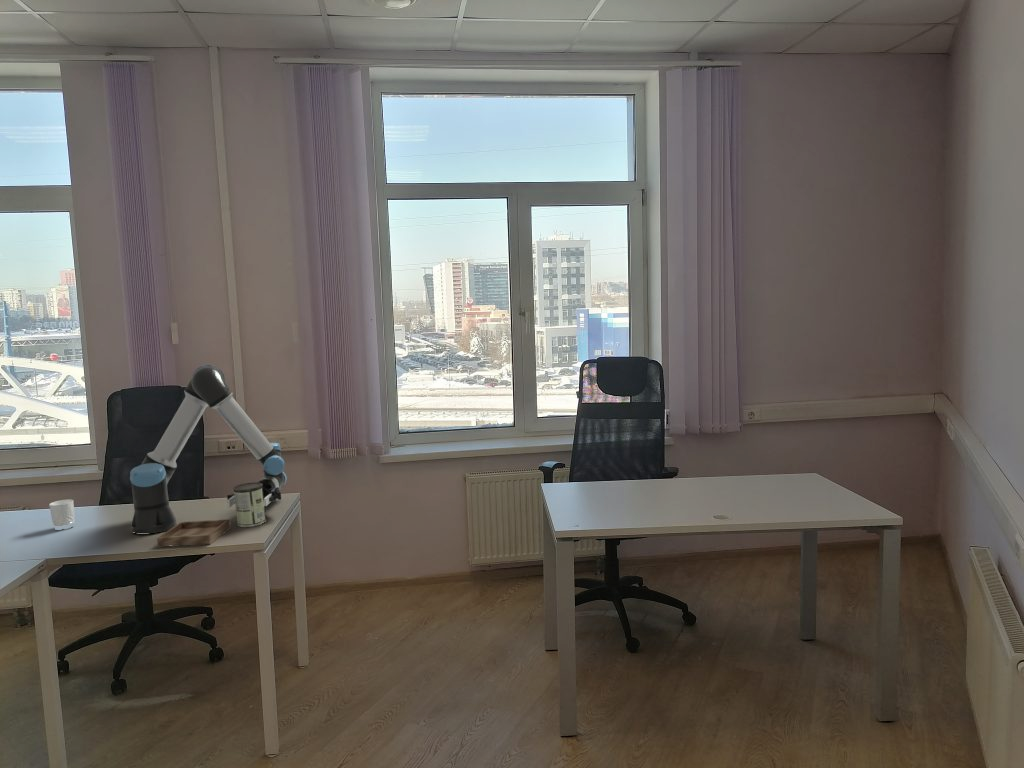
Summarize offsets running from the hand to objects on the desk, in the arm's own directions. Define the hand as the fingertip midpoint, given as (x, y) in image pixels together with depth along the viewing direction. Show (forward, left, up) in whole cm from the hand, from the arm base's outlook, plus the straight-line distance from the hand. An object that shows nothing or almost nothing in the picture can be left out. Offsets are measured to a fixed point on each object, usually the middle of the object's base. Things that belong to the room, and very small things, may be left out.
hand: (246, 503), depth 276 cm
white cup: (-74, +9, -9) cm, 75 cm away
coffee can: (0, +3, -9) cm, 9 cm away
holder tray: (-15, -11, -8) cm, 20 cm away
